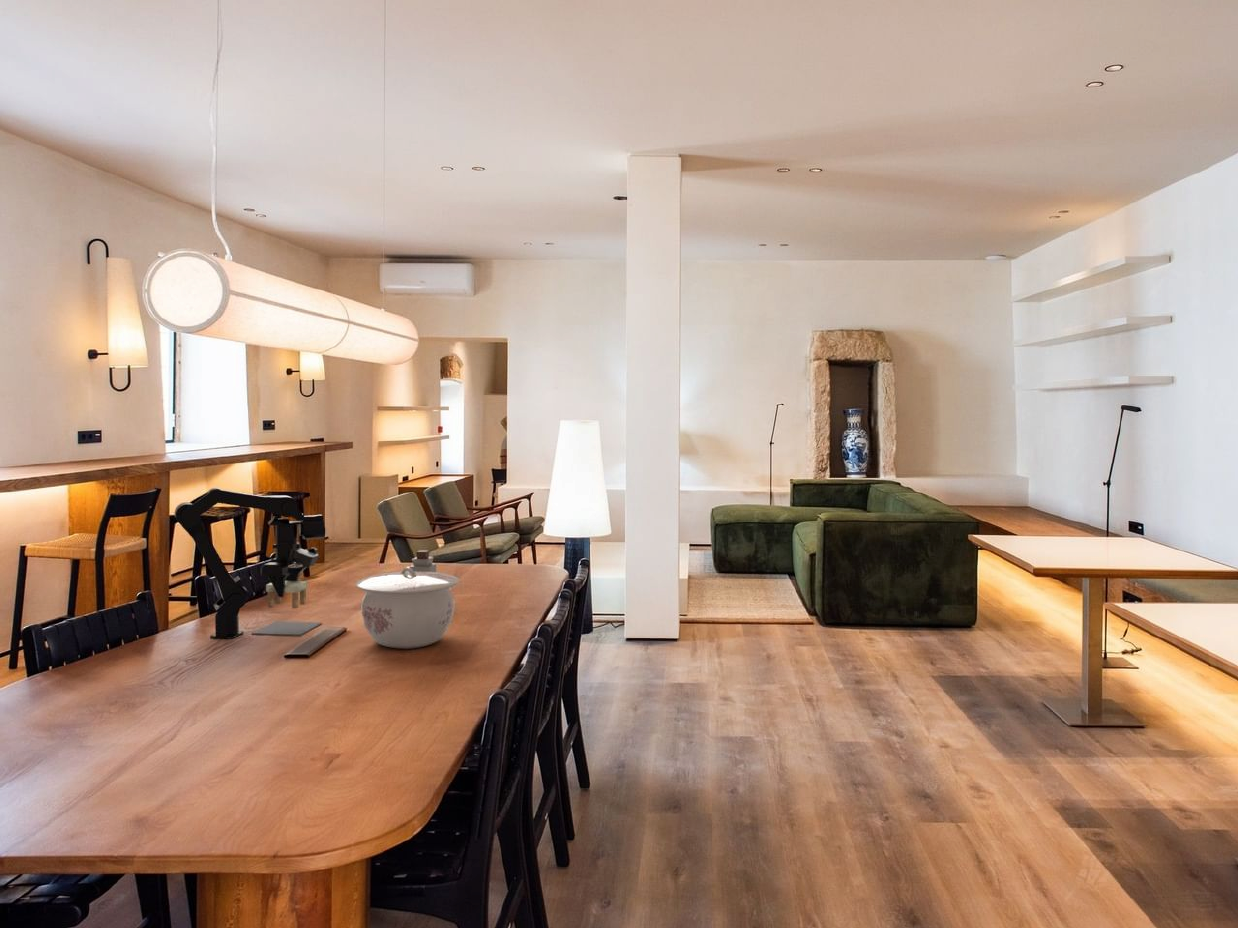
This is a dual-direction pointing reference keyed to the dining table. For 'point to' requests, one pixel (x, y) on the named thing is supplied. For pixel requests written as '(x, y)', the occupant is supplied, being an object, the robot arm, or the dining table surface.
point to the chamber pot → (407, 607)
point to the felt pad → (287, 628)
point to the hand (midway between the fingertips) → (286, 594)
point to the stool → (289, 587)
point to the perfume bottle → (423, 562)
